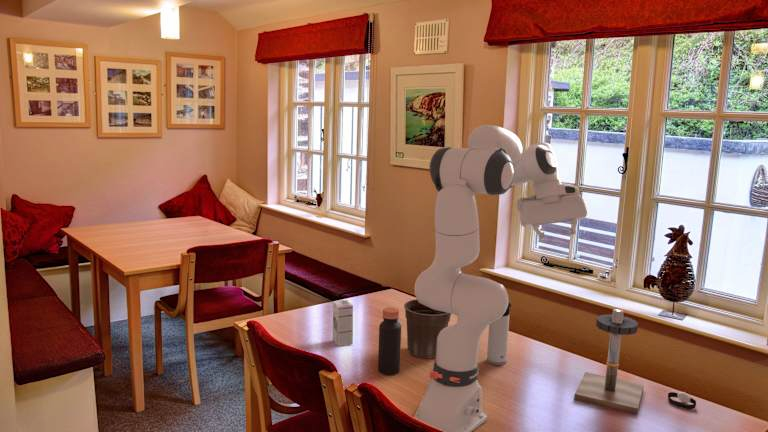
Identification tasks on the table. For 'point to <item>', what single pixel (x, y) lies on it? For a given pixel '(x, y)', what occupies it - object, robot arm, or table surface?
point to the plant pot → (423, 328)
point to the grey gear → (617, 325)
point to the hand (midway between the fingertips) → (557, 236)
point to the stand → (609, 393)
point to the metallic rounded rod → (613, 353)
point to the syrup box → (342, 322)
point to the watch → (683, 398)
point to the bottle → (389, 342)
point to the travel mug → (498, 339)
